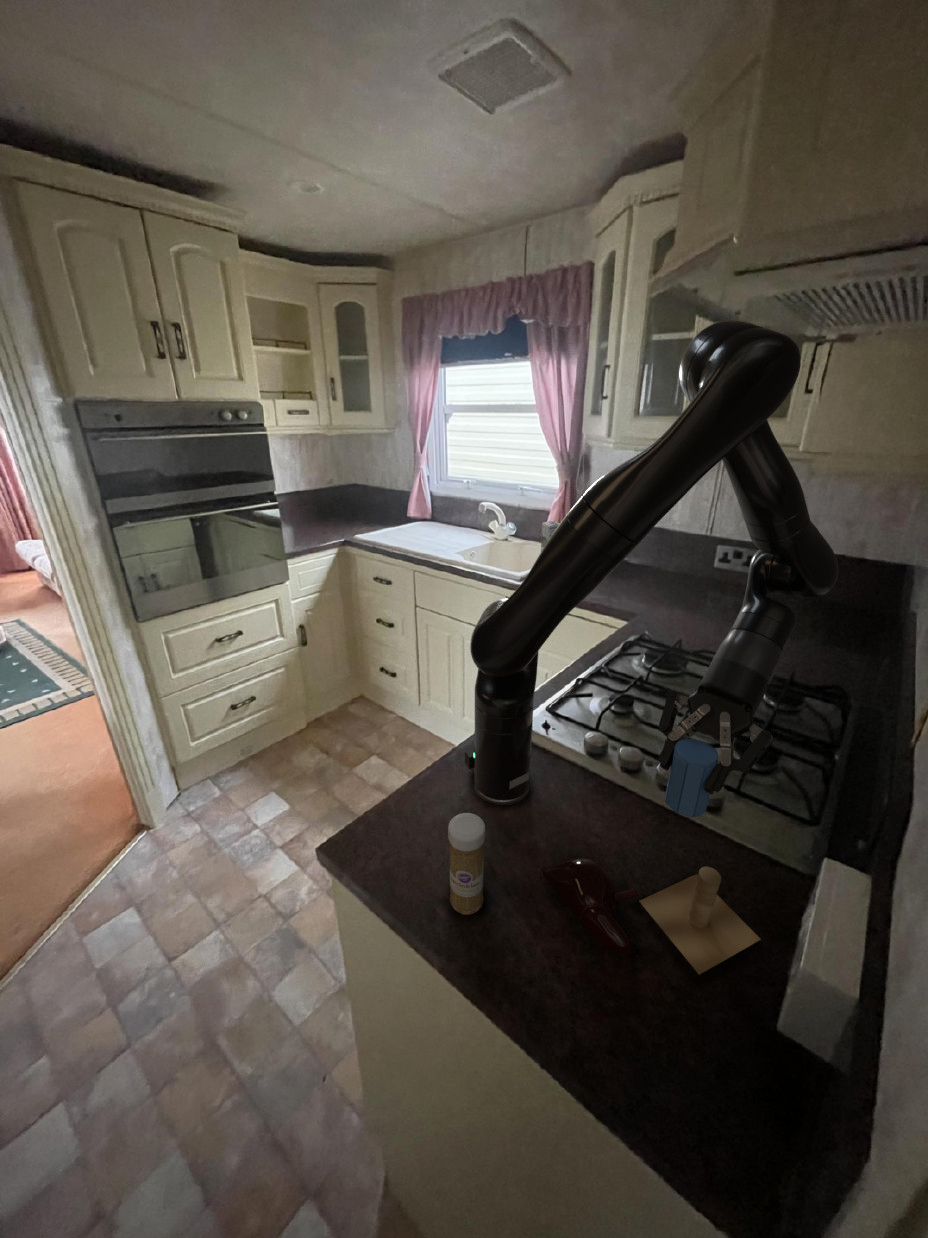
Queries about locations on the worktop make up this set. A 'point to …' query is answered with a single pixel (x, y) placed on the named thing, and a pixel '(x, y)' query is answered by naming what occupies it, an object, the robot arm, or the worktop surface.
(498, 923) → the worktop surface
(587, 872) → the dark red glossy lump
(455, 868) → the sprinkles bottle
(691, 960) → the dowel stand
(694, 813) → the blue sleeve
